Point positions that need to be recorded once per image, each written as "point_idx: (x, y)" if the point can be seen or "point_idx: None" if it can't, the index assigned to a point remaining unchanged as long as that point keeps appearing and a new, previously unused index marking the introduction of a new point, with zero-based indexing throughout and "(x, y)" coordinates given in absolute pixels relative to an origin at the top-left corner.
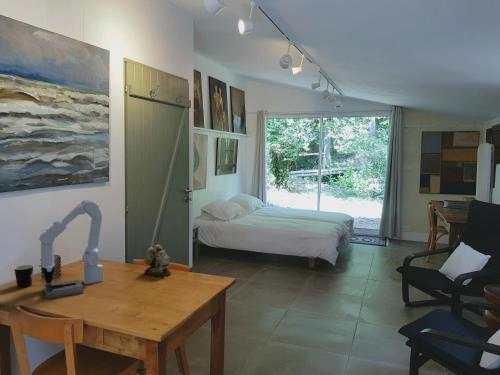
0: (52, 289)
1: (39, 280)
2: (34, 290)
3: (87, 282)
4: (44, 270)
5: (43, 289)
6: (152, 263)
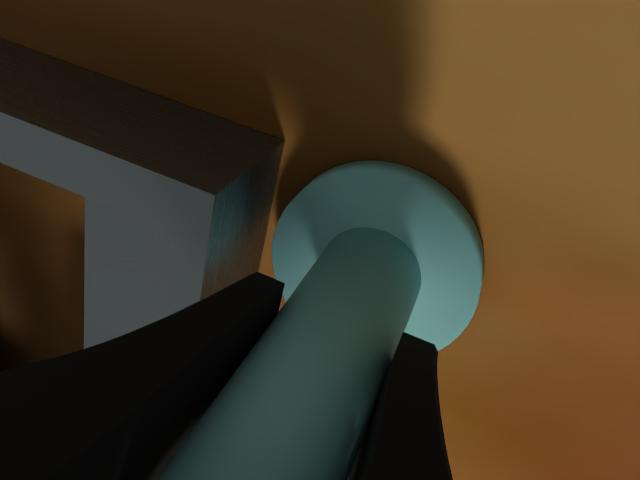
0: None
1: None
2: (557, 14)
3: None
4: None
5: (375, 166)
6: None
